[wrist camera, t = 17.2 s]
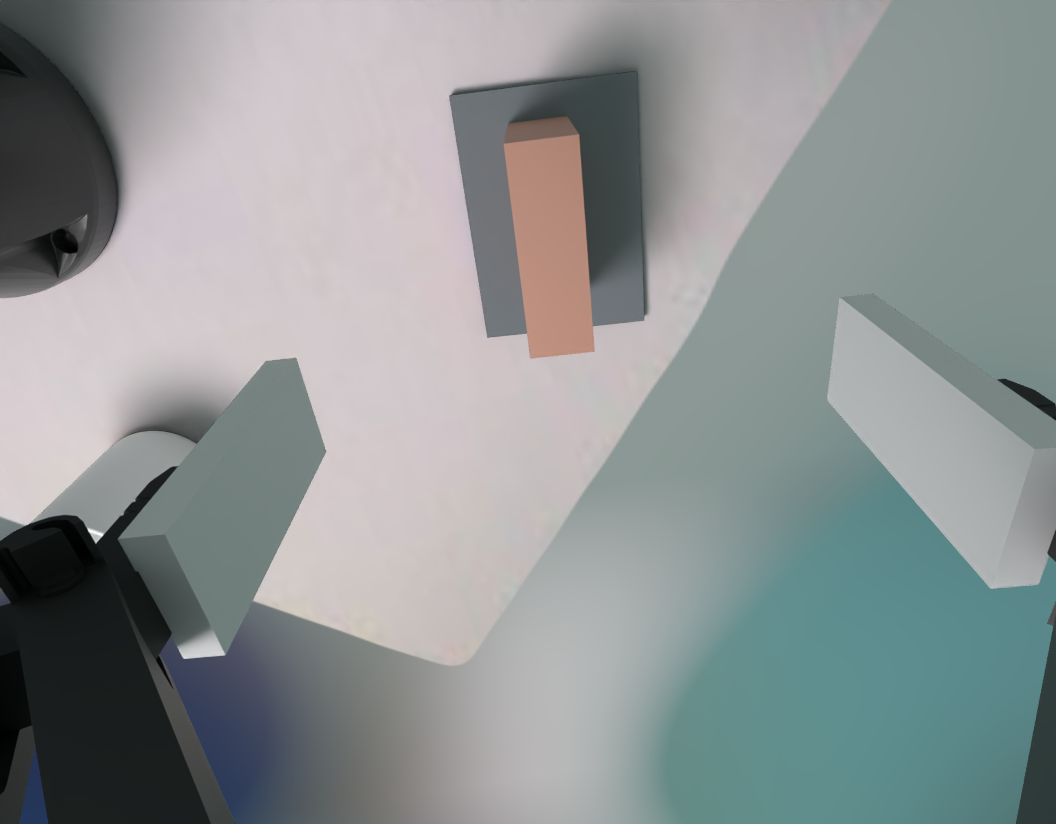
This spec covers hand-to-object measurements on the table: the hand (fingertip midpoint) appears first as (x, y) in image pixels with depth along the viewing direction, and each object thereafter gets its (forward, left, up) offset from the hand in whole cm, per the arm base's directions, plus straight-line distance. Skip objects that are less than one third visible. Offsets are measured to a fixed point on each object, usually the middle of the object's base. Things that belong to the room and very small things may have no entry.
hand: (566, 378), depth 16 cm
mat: (+1, -2, -25) cm, 25 cm away
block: (0, -6, -20) cm, 21 cm away
